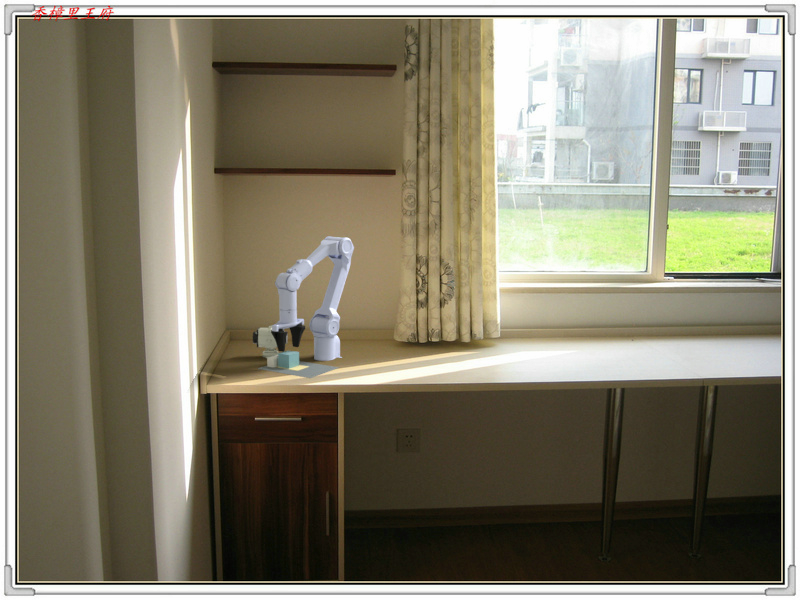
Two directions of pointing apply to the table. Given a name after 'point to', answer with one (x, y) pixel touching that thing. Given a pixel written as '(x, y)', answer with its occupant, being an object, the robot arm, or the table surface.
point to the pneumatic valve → (266, 341)
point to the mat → (302, 369)
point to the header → (272, 361)
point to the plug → (288, 359)
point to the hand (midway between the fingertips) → (288, 348)
